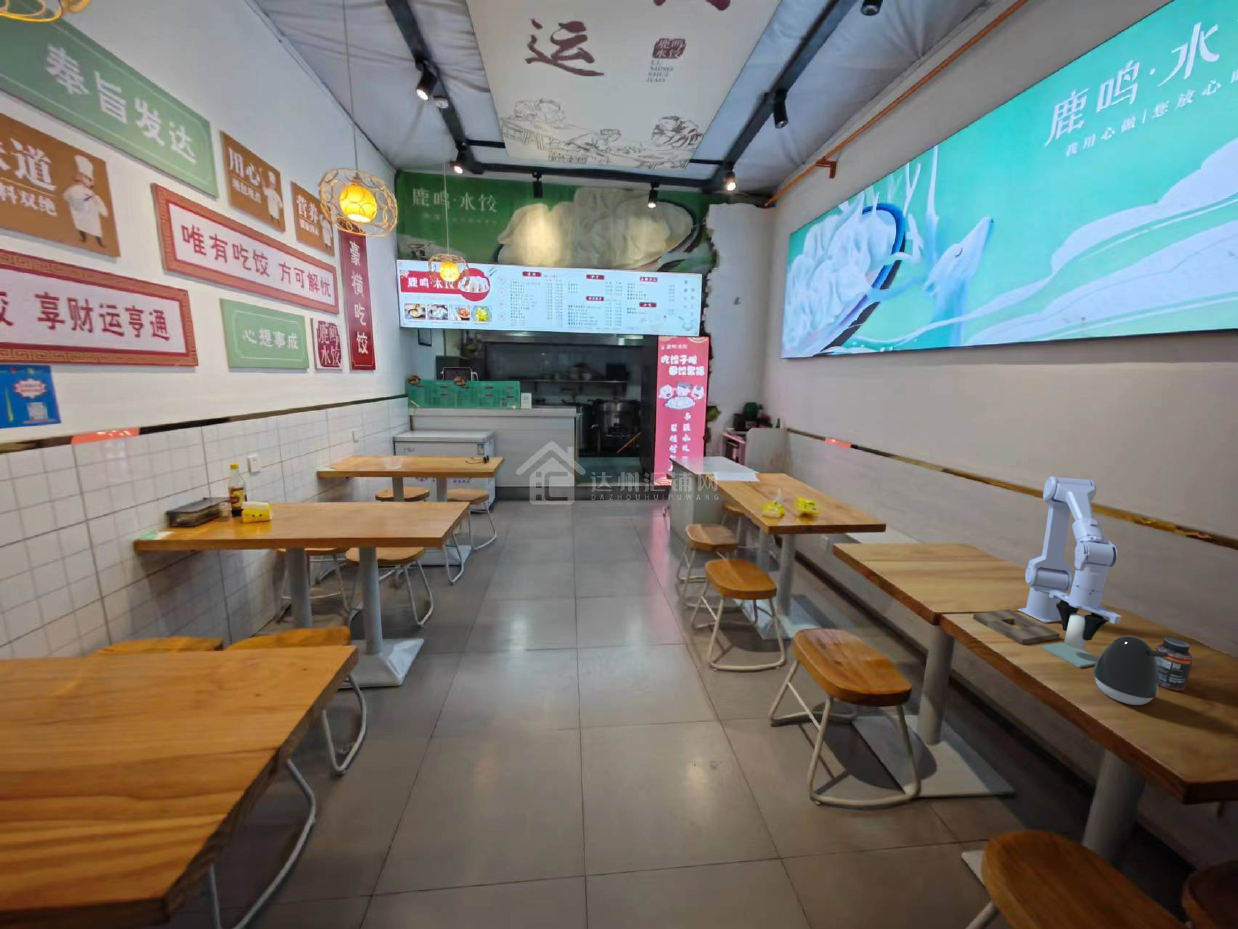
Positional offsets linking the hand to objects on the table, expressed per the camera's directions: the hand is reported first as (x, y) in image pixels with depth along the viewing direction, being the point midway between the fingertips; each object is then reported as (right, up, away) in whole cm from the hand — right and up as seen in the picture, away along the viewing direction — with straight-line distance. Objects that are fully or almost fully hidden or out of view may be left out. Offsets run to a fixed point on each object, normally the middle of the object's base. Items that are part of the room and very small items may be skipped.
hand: (1076, 634), depth 125 cm
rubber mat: (0, -6, +1) cm, 6 cm away
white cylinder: (0, -3, +1) cm, 3 cm away
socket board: (-4, -3, +14) cm, 15 cm away
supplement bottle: (+12, -9, -10) cm, 18 cm away
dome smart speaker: (-4, -9, -15) cm, 18 cm away
